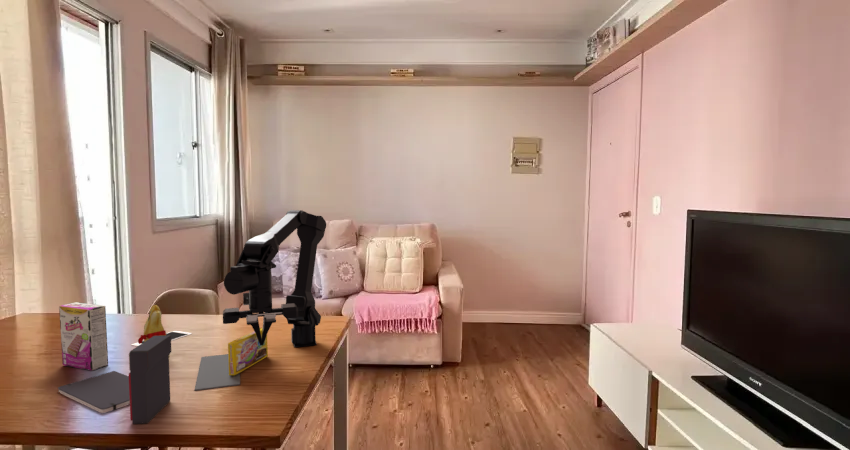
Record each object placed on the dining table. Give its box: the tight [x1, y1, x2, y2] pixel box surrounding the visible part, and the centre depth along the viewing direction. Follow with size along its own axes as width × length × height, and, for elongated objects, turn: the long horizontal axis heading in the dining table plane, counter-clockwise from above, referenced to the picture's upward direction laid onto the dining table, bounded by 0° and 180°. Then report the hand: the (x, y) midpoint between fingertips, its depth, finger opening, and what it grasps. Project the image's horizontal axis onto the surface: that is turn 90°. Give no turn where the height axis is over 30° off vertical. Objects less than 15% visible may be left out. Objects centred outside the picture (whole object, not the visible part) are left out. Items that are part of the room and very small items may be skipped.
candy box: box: [227, 327, 269, 376], centre depth 131 cm, size 16×2×8 cm, turn 168°
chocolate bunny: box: [137, 304, 170, 358], centre depth 137 cm, size 7×11×15 cm, turn 45°
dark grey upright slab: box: [128, 335, 172, 425], centre depth 104 cm, size 11×4×15 cm, turn 5°
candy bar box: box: [58, 301, 109, 372], centre depth 131 cm, size 11×5×16 cm, turn 71°
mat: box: [193, 353, 241, 392], centre depth 129 cm, size 10×24×1 cm, turn 21°
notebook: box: [57, 370, 130, 414], centre depth 115 cm, size 13×2×21 cm
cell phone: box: [130, 330, 193, 347], centre depth 155 cm, size 8×16×1 cm, turn 158°
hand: (261, 344), depth 132 cm, fingers closed
